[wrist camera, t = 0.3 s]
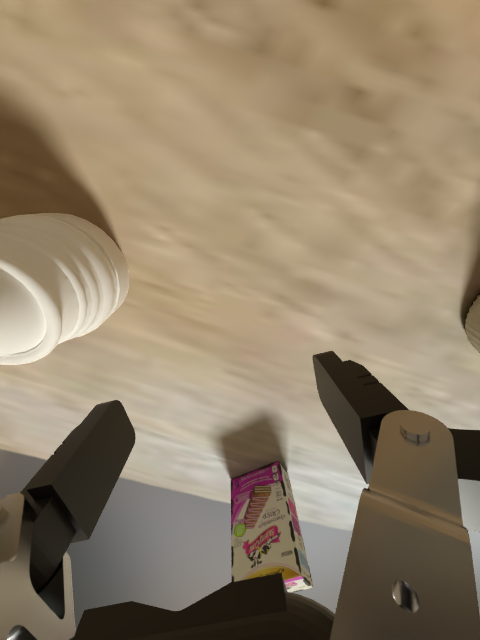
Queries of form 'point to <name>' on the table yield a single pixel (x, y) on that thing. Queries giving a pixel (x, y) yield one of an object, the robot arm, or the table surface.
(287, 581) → the candy bar box
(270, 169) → the table surface
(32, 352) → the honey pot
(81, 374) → the table surface
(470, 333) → the canister
